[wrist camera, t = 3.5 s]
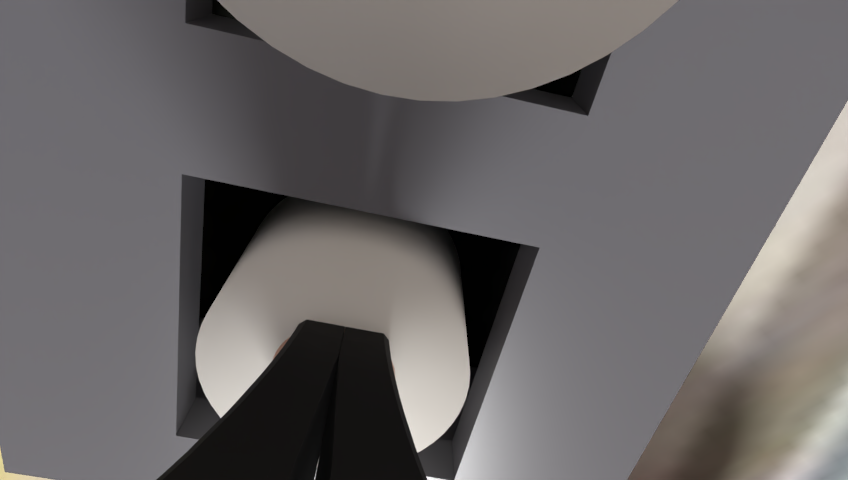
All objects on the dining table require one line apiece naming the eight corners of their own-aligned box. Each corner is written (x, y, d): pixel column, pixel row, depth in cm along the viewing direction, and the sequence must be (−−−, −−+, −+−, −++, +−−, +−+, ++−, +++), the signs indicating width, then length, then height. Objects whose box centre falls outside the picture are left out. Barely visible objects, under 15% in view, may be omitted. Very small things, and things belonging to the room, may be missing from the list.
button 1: (241, 340, 13) (191, 448, 10) (258, 157, 10) (200, 230, 8) (434, 375, 13) (435, 486, 10) (485, 205, 11) (503, 290, 8)
